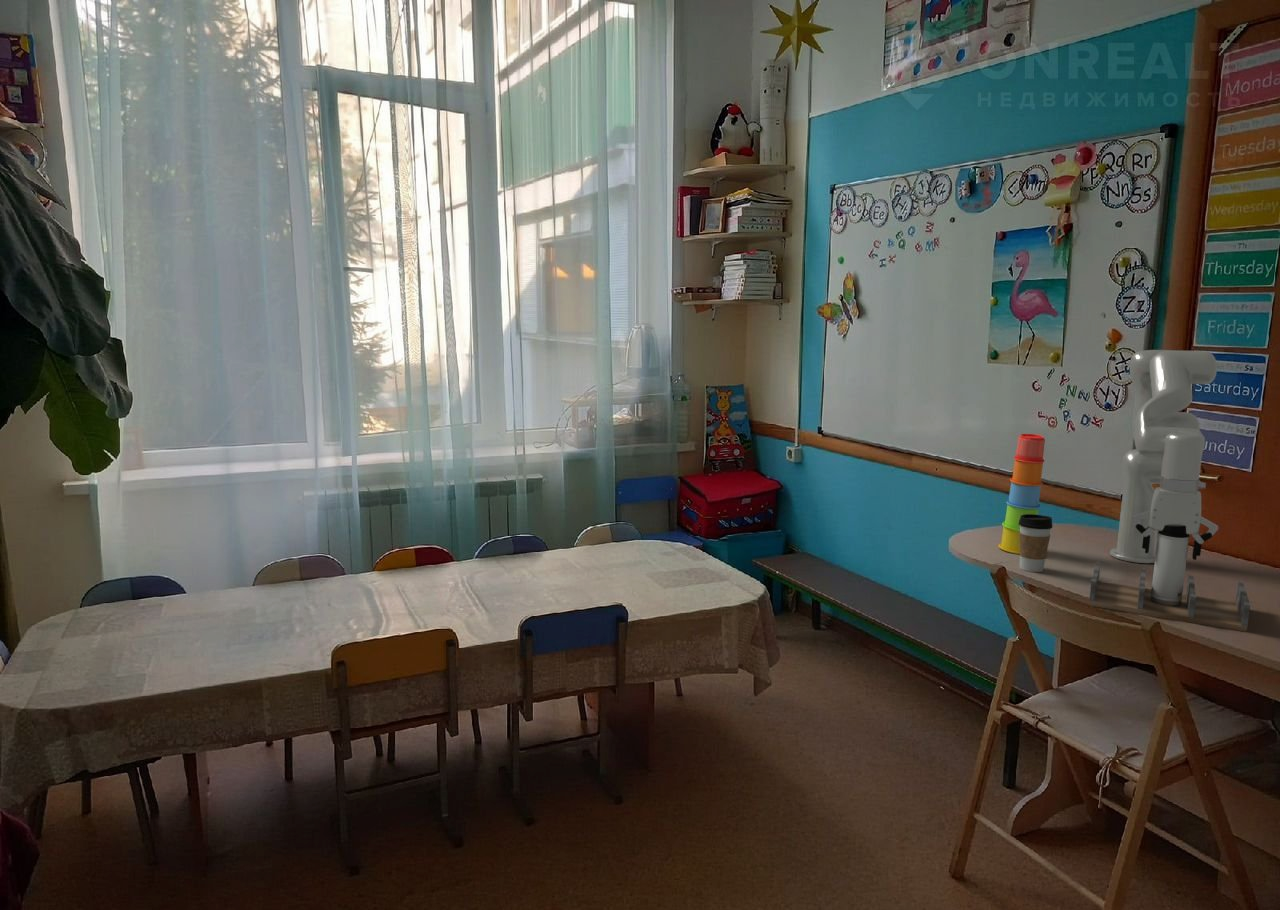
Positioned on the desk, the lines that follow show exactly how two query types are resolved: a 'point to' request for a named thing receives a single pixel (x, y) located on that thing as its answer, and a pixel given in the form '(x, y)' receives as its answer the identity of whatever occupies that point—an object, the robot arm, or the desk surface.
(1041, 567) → the coffee cup
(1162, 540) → the travel mug
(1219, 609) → the drying rack
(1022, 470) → the stacking cups
